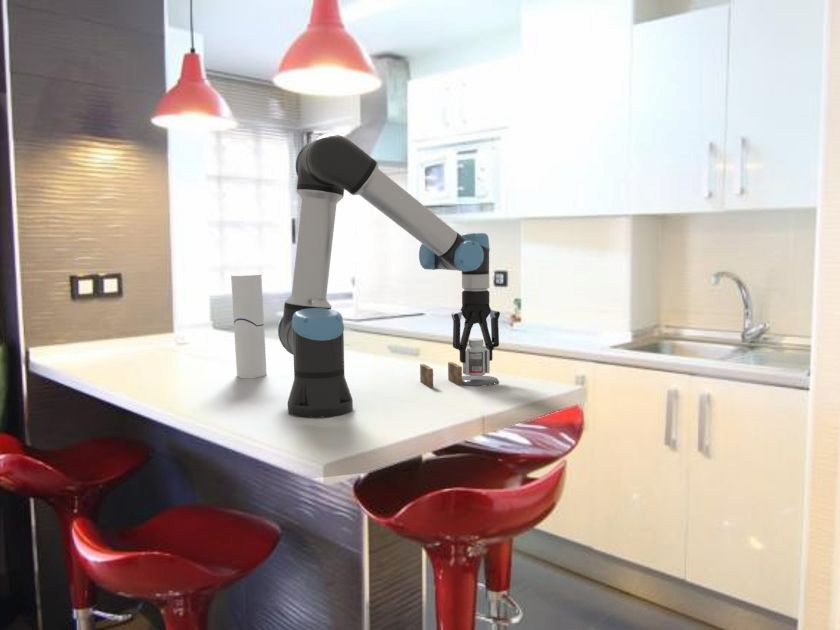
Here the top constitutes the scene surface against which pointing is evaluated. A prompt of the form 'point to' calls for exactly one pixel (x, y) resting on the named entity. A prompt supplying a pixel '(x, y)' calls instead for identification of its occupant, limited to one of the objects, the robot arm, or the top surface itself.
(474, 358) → the pill bottle
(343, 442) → the top surface
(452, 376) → the cradle
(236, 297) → the container
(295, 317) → the robot arm
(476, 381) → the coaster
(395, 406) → the top surface
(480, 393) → the top surface
